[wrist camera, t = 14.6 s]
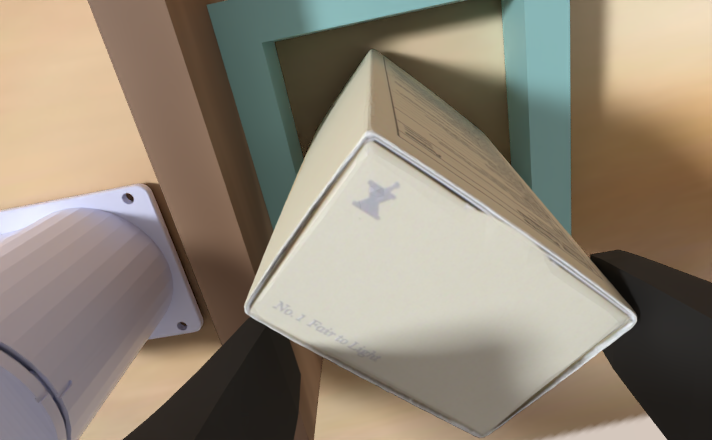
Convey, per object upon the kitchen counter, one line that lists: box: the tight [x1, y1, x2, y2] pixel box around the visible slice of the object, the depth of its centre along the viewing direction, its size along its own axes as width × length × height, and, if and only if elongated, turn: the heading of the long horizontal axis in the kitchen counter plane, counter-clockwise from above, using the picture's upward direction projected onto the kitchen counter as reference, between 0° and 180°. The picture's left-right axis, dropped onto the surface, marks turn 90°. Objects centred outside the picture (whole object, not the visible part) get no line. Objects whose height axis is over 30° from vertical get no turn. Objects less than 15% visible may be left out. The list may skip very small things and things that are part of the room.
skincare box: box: [244, 49, 637, 438], centre depth 13 cm, size 6×4×12 cm
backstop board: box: [88, 0, 323, 440], centre depth 17 cm, size 2×22×6 cm, turn 11°
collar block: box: [207, 0, 571, 236], centre depth 18 cm, size 12×12×2 cm
